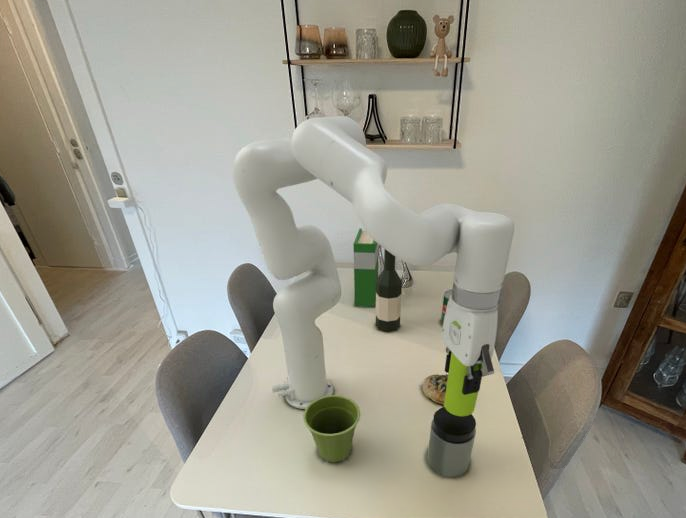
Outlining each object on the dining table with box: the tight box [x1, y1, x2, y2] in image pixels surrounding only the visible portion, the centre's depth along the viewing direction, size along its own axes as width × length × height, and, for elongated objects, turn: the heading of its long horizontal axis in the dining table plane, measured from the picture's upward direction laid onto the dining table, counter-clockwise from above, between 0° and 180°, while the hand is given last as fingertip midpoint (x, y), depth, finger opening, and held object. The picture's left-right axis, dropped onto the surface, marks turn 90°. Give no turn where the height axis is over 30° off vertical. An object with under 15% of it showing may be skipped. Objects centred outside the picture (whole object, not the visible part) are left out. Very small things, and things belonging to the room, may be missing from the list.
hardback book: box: [353, 228, 380, 308], centre depth 144 cm, size 18×7×24 cm, turn 174°
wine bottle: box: [375, 249, 403, 333], centre depth 123 cm, size 8×8×30 cm
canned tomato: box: [440, 289, 453, 326], centre depth 130 cm, size 8×8×11 cm
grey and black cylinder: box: [426, 406, 477, 478], centre depth 80 cm, size 9×9×12 cm
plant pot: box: [302, 394, 361, 463], centre depth 83 cm, size 12×12×11 cm
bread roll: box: [421, 373, 448, 405], centre depth 101 cm, size 11×11×5 cm
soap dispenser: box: [443, 321, 479, 416], centre depth 69 cm, size 6×7×20 cm
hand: (461, 380), depth 71 cm, fingers closed on soap dispenser, 5 cm apart
